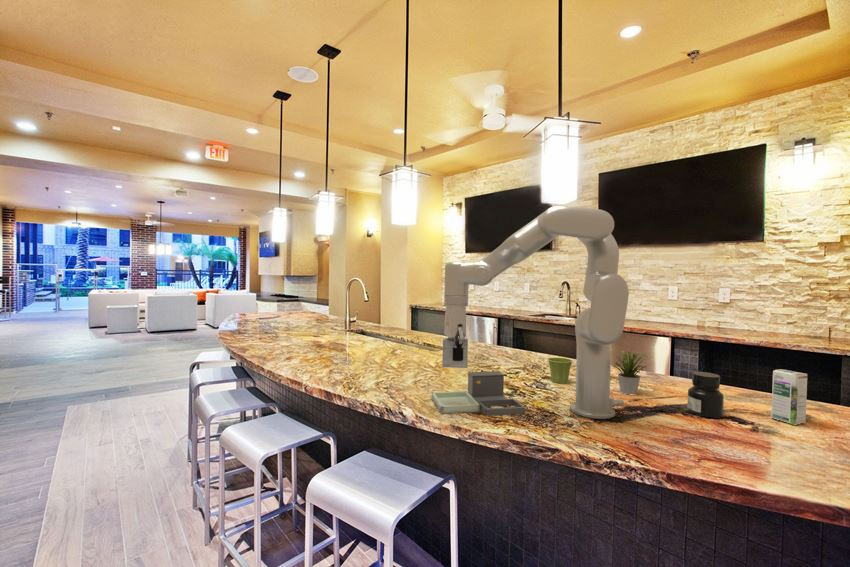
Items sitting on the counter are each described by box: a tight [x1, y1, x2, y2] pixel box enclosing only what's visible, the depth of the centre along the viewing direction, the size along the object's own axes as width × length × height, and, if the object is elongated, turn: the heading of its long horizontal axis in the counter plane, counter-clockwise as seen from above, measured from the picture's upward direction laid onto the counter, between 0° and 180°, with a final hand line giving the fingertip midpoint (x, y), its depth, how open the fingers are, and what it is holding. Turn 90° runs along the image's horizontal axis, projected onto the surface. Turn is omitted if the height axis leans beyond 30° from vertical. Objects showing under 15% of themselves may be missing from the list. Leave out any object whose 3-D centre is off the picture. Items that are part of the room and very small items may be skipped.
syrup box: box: [770, 368, 808, 426], centre depth 112 cm, size 6×6×14 cm
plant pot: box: [547, 357, 573, 384], centre depth 151 cm, size 9×9×9 cm
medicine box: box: [441, 337, 469, 369], centre depth 122 cm, size 8×4×9 cm, turn 85°
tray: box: [431, 390, 481, 415], centre depth 122 cm, size 12×14×2 cm
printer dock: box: [467, 370, 526, 417], centre depth 124 cm, size 13×21×8 cm, turn 10°
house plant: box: [612, 347, 653, 395], centre depth 137 cm, size 14×14×16 cm
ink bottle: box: [686, 371, 725, 419], centre depth 118 cm, size 10×9×12 cm
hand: (455, 358), depth 122 cm, fingers closed on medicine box, 5 cm apart
